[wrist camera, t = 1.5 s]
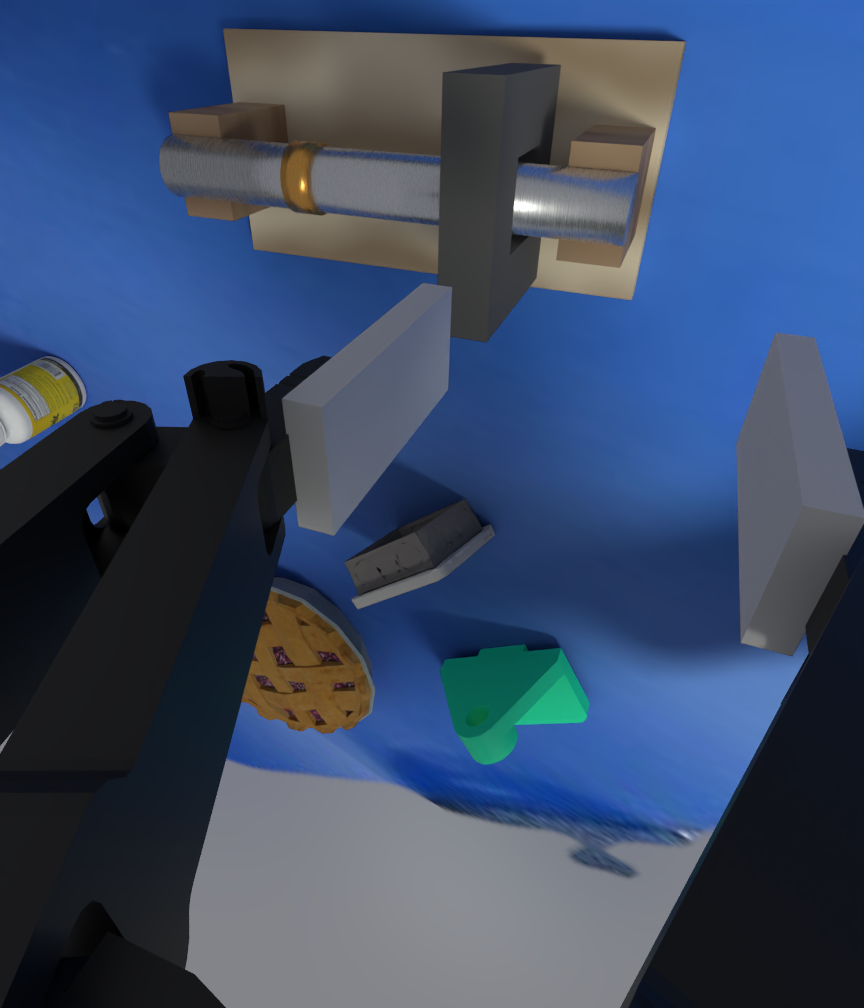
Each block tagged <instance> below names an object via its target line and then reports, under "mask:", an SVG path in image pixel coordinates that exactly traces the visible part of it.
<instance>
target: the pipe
mask: <svg viewBox="0 0 864 1008" xmlns="http://www.w3.org/2000/svg"><path fill="white" fill-rule="evenodd" d="M440 159H441V156H436V155H424V154H412V153H399V152H387V151H375V150H363V149H351V148H338V147H328V146H327V145H326V144H324V143H320V142H307V141H292V142H291V143H277V142H265V141H253V140H241V139H229V138H212V137H200V136H188V135H175V134H172V135H169V136H168V137H167V138H166V139H165V140H164V142H163V143H162V146H161V149H160V154H159V165H160V171H161V175H162V178H163V180H164V183H165V184H166V186H167V188H168V189H169V190H170V191H171V192H172V193H173V194H175V195H177V196H180V197H189V198H198V199H207V200H216V201H225V202H233V203H242V204H251V205H260V206H269V207H278V208H286V209H291V210H292V211H293V212H296V213H303V214H311V215H320V216H323V215H325V214H327V213H331V214H339V215H348V216H357V217H366V218H375V219H384V220H393V221H401V222H410V223H419V224H428V225H437V226H439V200H440ZM638 179H639V176H638V172H626V171H613V170H601V169H589V168H577V167H568V166H558V165H546V164H534V163H521V162H518V168H517V179H516V190H515V201H514V213H513V224H512V234H516V235H525V236H534V237H543V238H552V239H561V240H569V241H578V242H587V243H596V244H605V245H614V246H622V247H624V245H625V242H626V239H627V235H628V231H629V227H630V223H631V219H632V214H633V209H634V204H635V199H636V193H637V187H638Z"/></svg>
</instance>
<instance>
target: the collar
mask: <svg viewBox="0 0 864 1008" xmlns="http://www.w3.org/2000/svg"><path fill="white" fill-rule="evenodd" d="M560 70H561V65H556V64H531V63H507V64H499V65H492V66H485V67H478V68H471V69H464V70H456V71H449V72H443V77H442V118H441V159H440V200H439V241H438V282H437V285H440V286H448V287H452V301H451V327H450V337H456V338H462V339H468V340H474V341H481V342H487V341H488V340H489V338H490V337H491V336H492V335H493V333H494V332H495V331H496V329H497V328H498V327H499V326H500V324H501V323H502V322H503V321H504V319H505V318H506V317H507V315H508V314H509V313H510V312H511V310H512V309H513V308H514V306H515V305H516V304H517V303H518V301H519V300H520V299H521V297H522V296H523V295H524V294H525V292H526V291H527V290H528V288H529V287H530V286H531V285H532V283H533V282H534V281H535V280H536V278H537V270H538V261H539V253H540V244H541V237H534V236H525V235H516V234H512V224H513V213H514V201H515V190H516V179H517V168H518V162H521V163H534V164H546V165H550V157H551V148H552V140H553V131H554V122H555V114H556V105H557V96H558V87H559V79H560Z"/></svg>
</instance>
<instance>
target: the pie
mask: <svg viewBox="0 0 864 1008" xmlns="http://www.w3.org/2000/svg"><path fill="white" fill-rule="evenodd" d="M374 695H375V686H374V684H373V681H372V664H371V661H370V658H369V656H368V653H367V650H366V648H365V645H364V642H363V639H362V637H361V636H360V635H359V634H358V632H357V631H356V630H355V628H354V627H353V626H352V625H351V623H350V622H349V621H348V619H347V618H346V617H345V616H344V614H343V613H342V612H341V610H340V609H338V608H337V607H336V606H335V605H333V604H332V603H331V602H330V601H328V600H327V599H326V598H325V597H323V596H322V595H321V594H320V593H319V592H317V591H316V590H315V589H313V588H310V587H308V586H305V585H302V584H300V583H297V582H294V581H291V580H289V579H286V578H281V577H274V580H273V584H272V587H271V591H270V595H269V599H268V602H267V606H266V610H265V614H264V618H263V621H262V625H261V629H260V633H259V636H258V640H257V644H256V648H255V651H254V655H253V659H252V663H251V667H250V670H249V674H248V678H247V682H246V685H245V689H244V693H243V697H242V701H241V702H245V703H249V704H250V705H252V706H253V707H255V708H256V709H257V711H258V714H259V715H260V716H262V717H264V718H266V719H268V720H273V719H278V720H281V721H284V722H286V723H287V725H288V727H289V728H290V729H293V730H298V731H304V730H305V729H307V728H314V729H316V730H317V731H319V732H321V733H333V732H334V731H335V730H336V729H337V728H342V727H343V728H344V729H345V730H348V729H351V728H353V727H355V726H356V724H357V723H358V722H359V721H361V720H362V719H364V718H365V717H366V716H368V715H369V714H371V713H372V708H373V702H374Z"/></svg>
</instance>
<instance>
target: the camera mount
mask: <svg viewBox="0 0 864 1008" xmlns="http://www.w3.org/2000/svg"><path fill="white" fill-rule="evenodd" d="M440 674H441V678H442V682H443V686H444V690H445V694H446V698H447V702H448V706H449V710H450V714H451V718H452V722H453V726H454V729H455V731H456V733H457V734H458V736H459V738H460V739H461V741H462V742H463V744H464V745H465V747H466V748H467V750H468V751H469V753H470V754H471V756H472V757H473V759H474V760H475V761H477V762H478V763H481V764H493V763H496V762H498V761H500V760H502V759H504V758H505V757H506V756H508V755H509V754H510V753H511V751H512V750H513V749H514V747H515V745H516V742H517V737H518V735H517V730H516V728H515V727H514V725H521V724H552V723H580V722H584V721H585V720H586V718H587V713H588V708H589V700H588V698H587V696H586V694H585V693H584V691H583V689H582V687H581V685H580V683H579V681H578V679H577V677H576V675H575V673H574V672H573V670H572V668H571V666H570V664H569V662H568V660H567V658H566V656H565V654H564V653H563V651H562V649H561V648H555V649H545V650H535V651H529V650H528V649H527V647H526V645H525V644H524V645H514V646H505V647H496V648H486V649H480V651H479V654H478V656H474V657H464V658H454V659H445V661H444V663H443V665H442V668H441V670H440Z"/></svg>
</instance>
